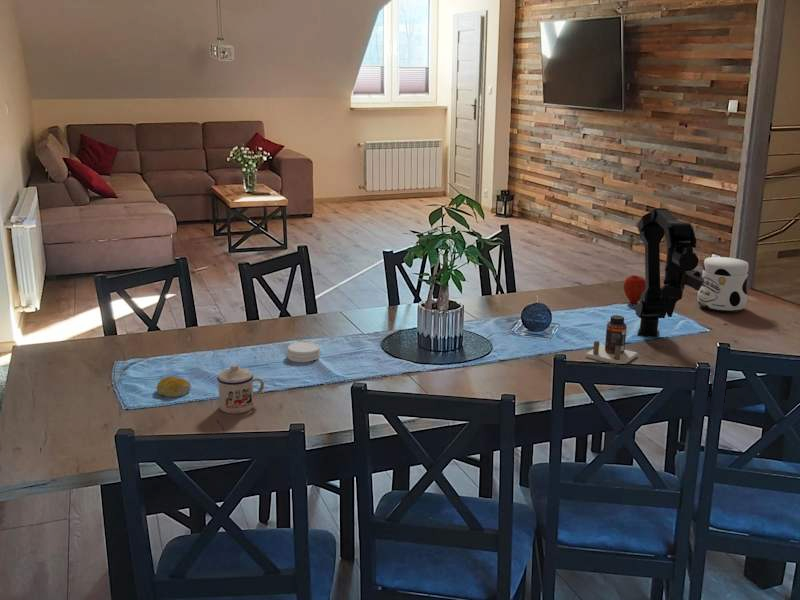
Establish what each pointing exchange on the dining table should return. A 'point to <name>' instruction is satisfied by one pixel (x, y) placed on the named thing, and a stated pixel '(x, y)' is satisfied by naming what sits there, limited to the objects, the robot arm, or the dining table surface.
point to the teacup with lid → (237, 390)
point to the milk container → (724, 284)
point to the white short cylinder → (303, 352)
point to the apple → (634, 288)
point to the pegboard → (604, 356)
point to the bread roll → (173, 387)
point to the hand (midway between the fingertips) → (670, 312)
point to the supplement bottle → (615, 334)
